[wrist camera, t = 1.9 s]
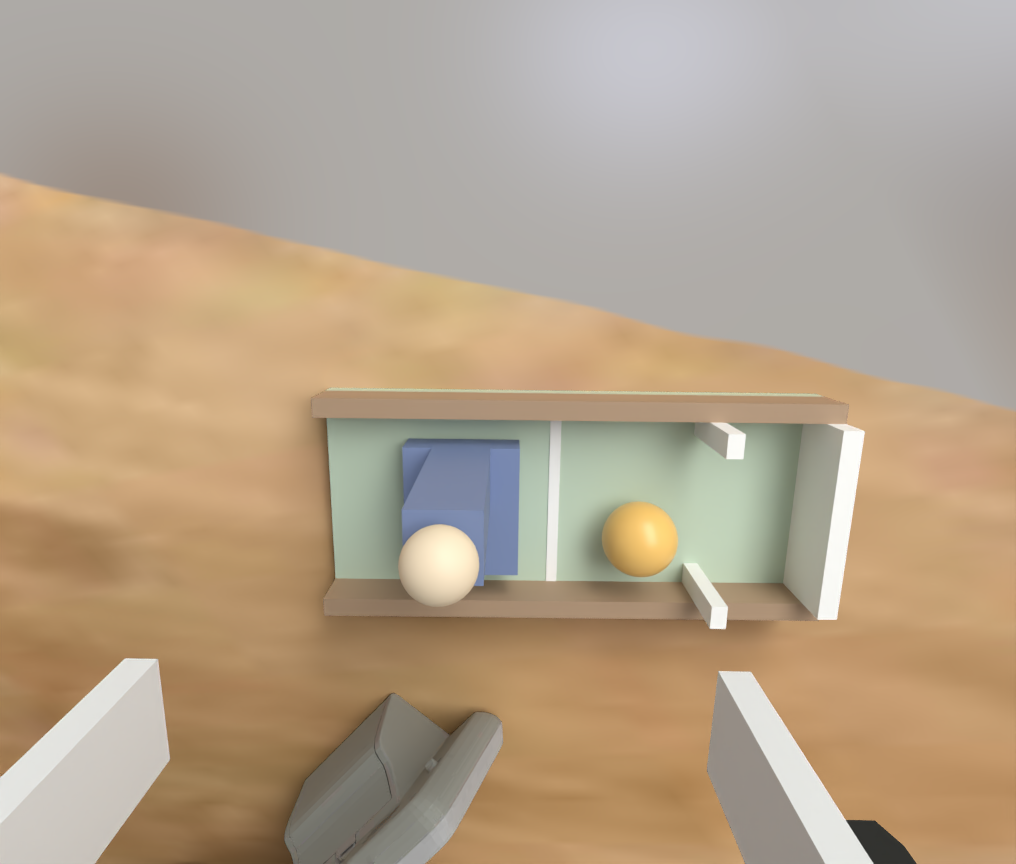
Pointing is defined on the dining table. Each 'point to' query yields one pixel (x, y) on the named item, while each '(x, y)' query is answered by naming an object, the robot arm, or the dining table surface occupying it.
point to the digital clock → (392, 789)
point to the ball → (639, 539)
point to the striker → (458, 516)
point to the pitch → (610, 499)
